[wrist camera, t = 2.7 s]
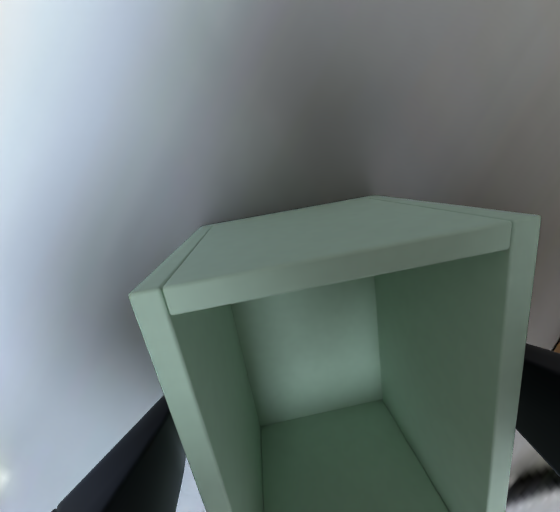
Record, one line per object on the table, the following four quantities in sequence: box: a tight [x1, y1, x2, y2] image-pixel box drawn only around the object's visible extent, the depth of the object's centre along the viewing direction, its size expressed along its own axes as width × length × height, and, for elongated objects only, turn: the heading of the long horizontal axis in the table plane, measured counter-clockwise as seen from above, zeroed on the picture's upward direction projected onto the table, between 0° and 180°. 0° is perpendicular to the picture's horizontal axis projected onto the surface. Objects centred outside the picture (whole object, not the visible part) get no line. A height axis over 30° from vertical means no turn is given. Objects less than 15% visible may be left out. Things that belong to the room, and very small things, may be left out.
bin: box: [129, 195, 541, 512], centre depth 8 cm, size 10×7×6 cm
